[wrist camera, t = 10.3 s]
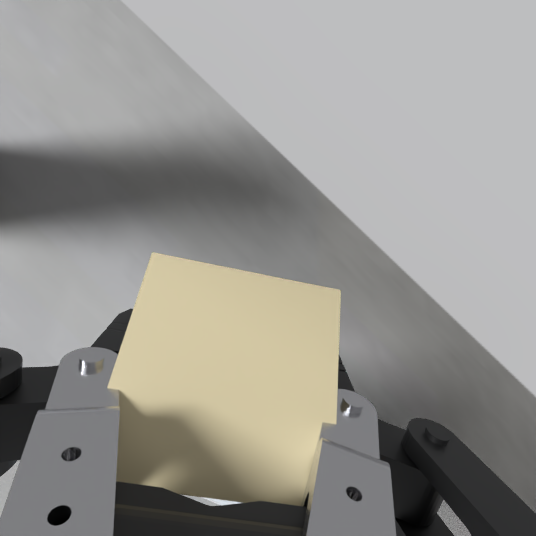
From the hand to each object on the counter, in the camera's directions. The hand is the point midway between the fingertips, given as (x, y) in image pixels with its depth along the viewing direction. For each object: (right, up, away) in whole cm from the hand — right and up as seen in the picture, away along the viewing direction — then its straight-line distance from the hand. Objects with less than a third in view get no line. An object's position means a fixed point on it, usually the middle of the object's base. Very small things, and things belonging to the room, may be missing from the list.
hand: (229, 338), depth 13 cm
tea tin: (-1, -4, +3) cm, 5 cm away
